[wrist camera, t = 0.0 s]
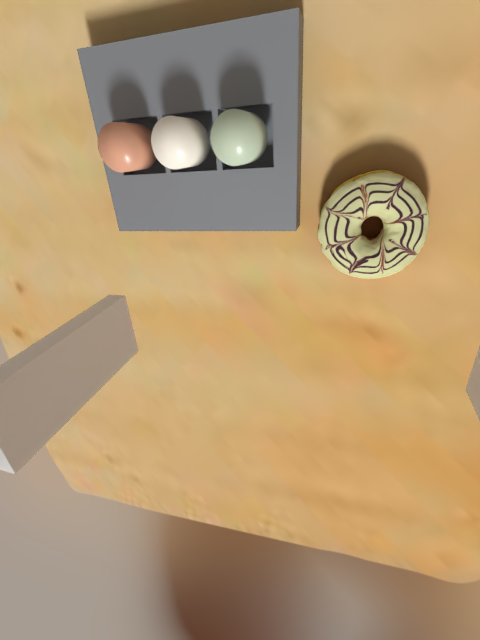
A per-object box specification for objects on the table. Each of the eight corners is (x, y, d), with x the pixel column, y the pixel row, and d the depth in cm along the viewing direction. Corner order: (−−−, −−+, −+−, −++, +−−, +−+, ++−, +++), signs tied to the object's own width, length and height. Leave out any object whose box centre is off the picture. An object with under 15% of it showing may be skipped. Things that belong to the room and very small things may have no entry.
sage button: (222, 114, 32) (207, 111, 29) (267, 109, 31) (257, 106, 27) (226, 164, 34) (213, 167, 31) (268, 161, 33) (259, 164, 29)
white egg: (167, 120, 34) (147, 118, 30) (207, 115, 32) (190, 113, 29) (174, 167, 36) (155, 170, 32) (212, 165, 34) (197, 168, 31)
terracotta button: (117, 125, 35) (92, 124, 32) (153, 121, 34) (131, 119, 31) (126, 170, 37) (104, 173, 34) (161, 168, 36) (141, 171, 33)
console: (96, 55, 35) (77, 49, 33) (303, 18, 29) (298, 7, 27) (132, 225, 44) (119, 231, 41) (299, 224, 38) (296, 230, 35)
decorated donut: (335, 281, 40) (333, 293, 37) (307, 193, 36) (303, 198, 33) (432, 255, 35) (440, 266, 32) (412, 152, 32) (419, 153, 29)
